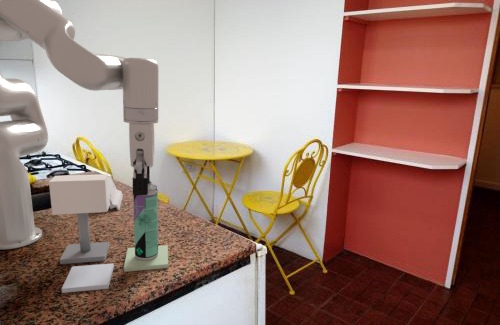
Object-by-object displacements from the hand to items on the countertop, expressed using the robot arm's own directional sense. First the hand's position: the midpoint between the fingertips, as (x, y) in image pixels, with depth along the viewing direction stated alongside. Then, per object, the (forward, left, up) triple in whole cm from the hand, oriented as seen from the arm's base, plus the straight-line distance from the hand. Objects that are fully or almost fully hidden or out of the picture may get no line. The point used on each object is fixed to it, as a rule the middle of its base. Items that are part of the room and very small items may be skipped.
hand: (141, 187), depth 86 cm
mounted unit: (-14, +5, -18) cm, 24 cm away
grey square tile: (-11, -7, -18) cm, 23 cm away
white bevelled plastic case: (-14, +43, -19) cm, 49 cm away
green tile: (+1, 0, -18) cm, 18 cm away
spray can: (+1, 0, -18) cm, 18 cm away
